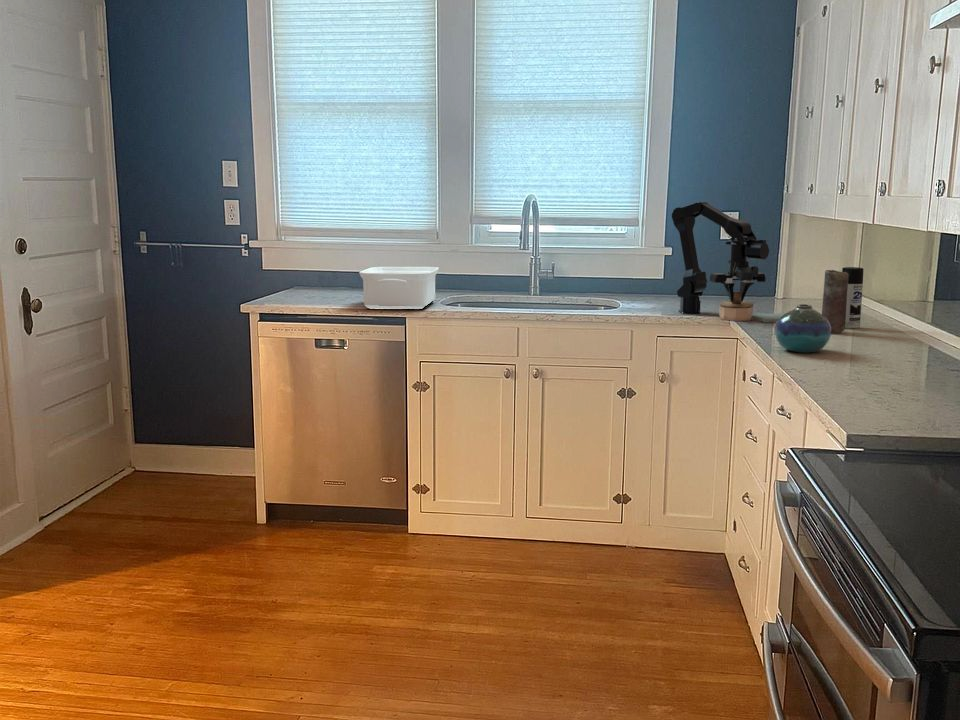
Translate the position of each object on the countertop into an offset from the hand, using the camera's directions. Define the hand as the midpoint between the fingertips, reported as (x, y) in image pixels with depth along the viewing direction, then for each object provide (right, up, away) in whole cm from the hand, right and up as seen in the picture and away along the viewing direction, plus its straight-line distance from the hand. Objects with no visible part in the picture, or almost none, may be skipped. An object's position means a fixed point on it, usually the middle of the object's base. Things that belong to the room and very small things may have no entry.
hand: (736, 301), depth 316 cm
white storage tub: (-123, +1, +40) cm, 130 cm away
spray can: (+32, -10, -20) cm, 39 cm away
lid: (0, -1, 0) cm, 1 cm away
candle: (+23, -12, -29) cm, 39 cm away
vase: (+1, -18, -60) cm, 63 cm away
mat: (+13, -6, 0) cm, 15 cm away
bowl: (0, -6, +1) cm, 6 cm away
